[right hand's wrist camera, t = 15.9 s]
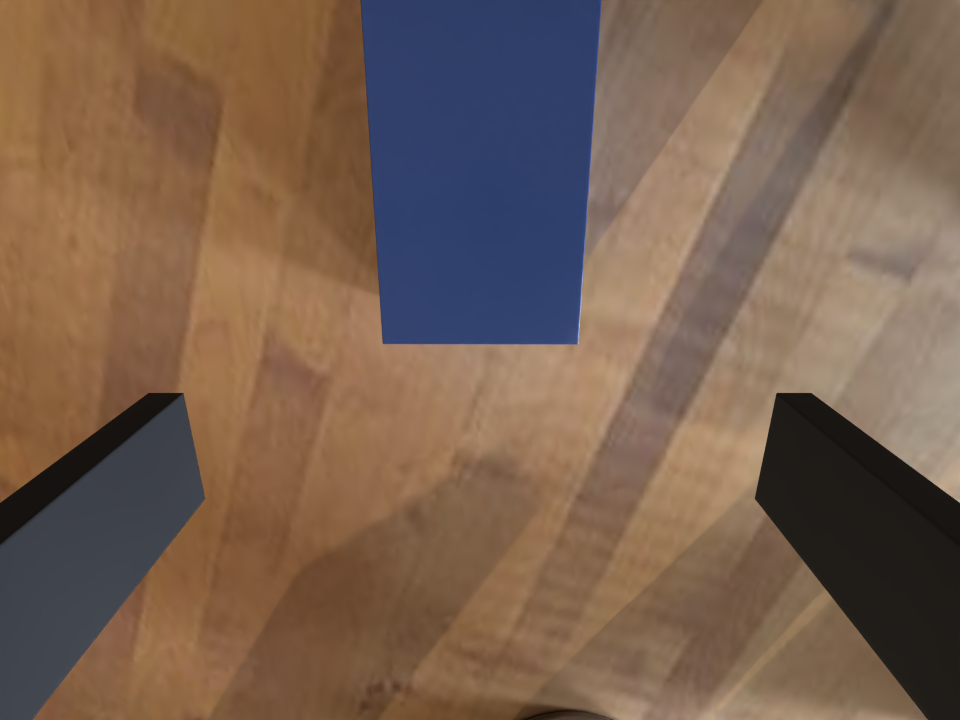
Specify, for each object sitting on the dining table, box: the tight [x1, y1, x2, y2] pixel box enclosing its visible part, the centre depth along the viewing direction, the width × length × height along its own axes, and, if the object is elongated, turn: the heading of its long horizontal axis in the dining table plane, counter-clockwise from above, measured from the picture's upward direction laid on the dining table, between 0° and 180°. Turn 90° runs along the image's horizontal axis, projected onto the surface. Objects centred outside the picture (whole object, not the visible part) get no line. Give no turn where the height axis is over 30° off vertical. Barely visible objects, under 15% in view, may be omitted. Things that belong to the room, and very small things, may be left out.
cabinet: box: [361, 0, 601, 344], centre depth 30 cm, size 17×10×8 cm, turn 0°
